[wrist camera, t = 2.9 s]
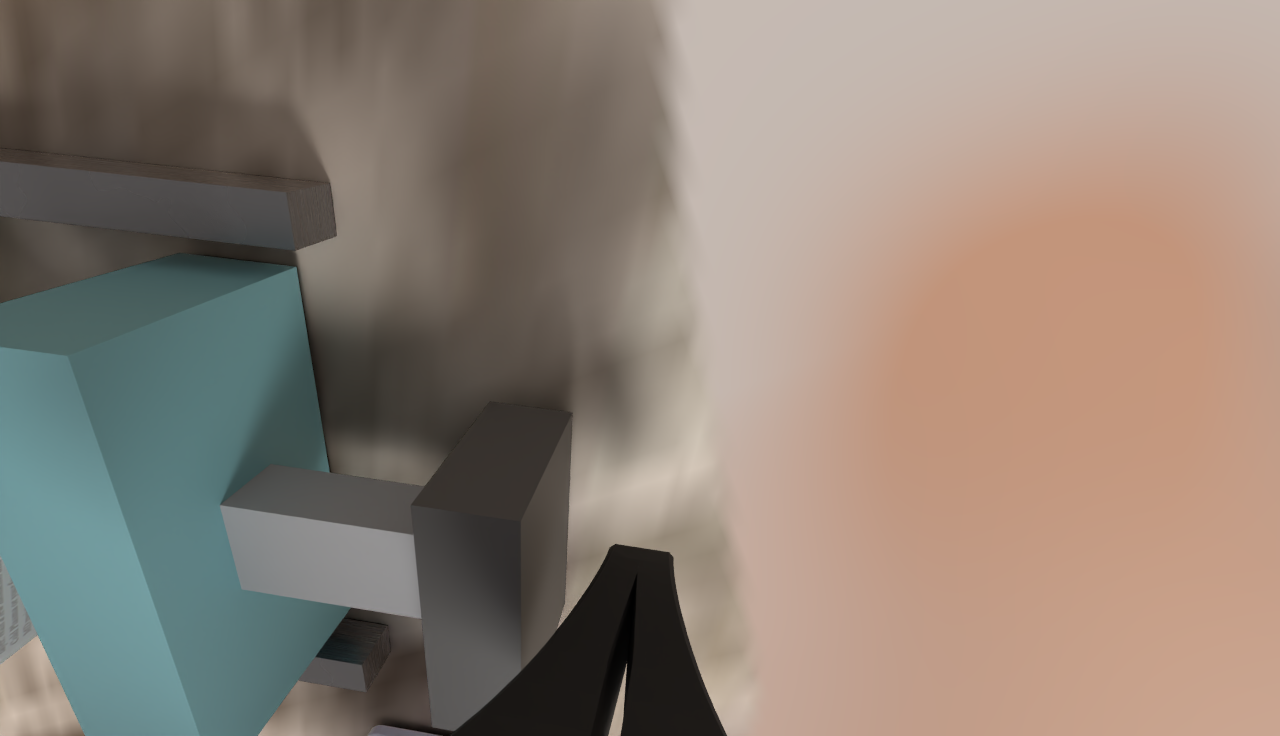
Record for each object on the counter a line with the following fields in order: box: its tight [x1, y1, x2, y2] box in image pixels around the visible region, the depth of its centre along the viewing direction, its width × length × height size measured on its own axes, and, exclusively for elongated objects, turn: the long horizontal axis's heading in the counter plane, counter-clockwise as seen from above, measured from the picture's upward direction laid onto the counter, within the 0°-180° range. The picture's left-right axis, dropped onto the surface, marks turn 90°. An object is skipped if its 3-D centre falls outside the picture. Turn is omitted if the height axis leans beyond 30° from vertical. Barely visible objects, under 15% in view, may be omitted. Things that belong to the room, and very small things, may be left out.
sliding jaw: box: [0, 253, 573, 736], centre depth 14 cm, size 11×10×6 cm
